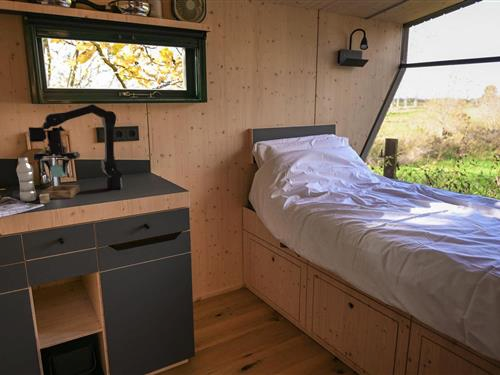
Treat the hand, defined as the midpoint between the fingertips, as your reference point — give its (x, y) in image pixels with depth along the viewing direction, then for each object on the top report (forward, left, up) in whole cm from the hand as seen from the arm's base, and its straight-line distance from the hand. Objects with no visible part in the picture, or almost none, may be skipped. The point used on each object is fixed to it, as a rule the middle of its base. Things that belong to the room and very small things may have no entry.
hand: (58, 173), depth 177 cm
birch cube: (+3, +12, -11) cm, 16 cm away
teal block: (0, 0, -1) cm, 1 cm away
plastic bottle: (+11, +9, -11) cm, 18 cm away
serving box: (0, 0, -11) cm, 11 cm away
